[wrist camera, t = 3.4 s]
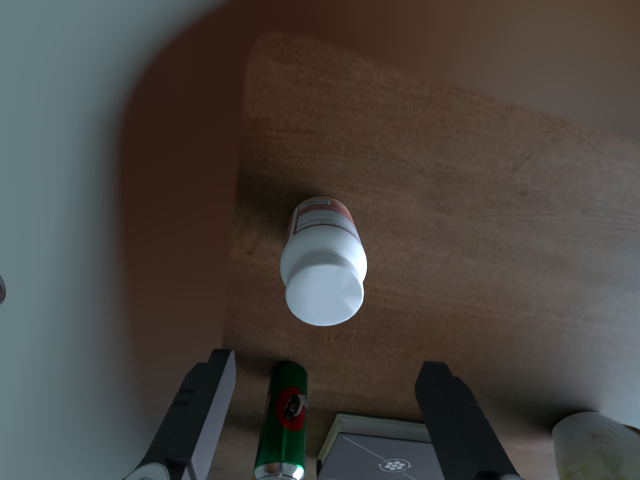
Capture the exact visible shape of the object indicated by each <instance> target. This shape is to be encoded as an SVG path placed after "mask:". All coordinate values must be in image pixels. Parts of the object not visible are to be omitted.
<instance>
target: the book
mask: <svg viewBox="0 0 640 480" xmlns="http://www.w3.org/2000/svg"><path fill="white" fill-rule="evenodd" d="M316 471H317V480H444V476H443V473H442V471H441V468H440V465H439V462H438V459H437V456H436V453H435V451H434V448H433V445H432V442H431V439H430V436H429V433H428V431H427V428H426V425H425V423H423V422H415V421H407V420H399V419H391V418H382V417H374V416H366V415H358V414H350V413H342V412H337V414H336V416H335V418H334V421H333V423H332V425H331V427H330V430H329V432H328V434H327V436H326V438H325V441H324V443H323V445H322V447H321V450H320V452H319V454H318V456H317V465H316Z"/></svg>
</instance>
